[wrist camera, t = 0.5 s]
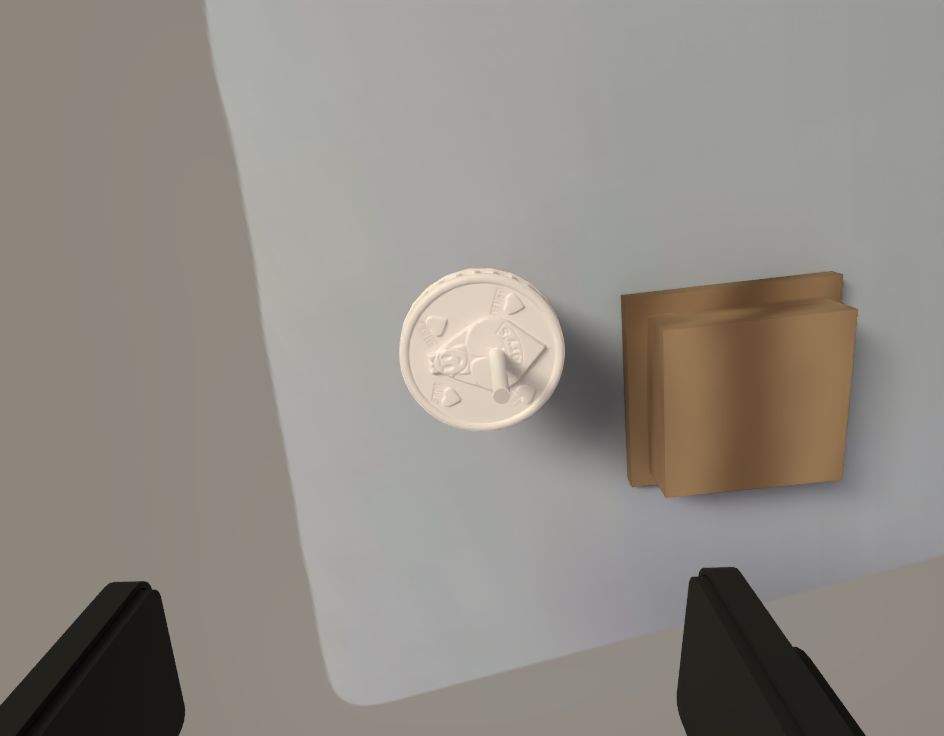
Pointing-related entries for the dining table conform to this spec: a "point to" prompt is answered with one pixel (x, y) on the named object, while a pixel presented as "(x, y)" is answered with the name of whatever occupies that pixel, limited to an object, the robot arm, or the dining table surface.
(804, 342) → the pedestal
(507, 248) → the dining table surface
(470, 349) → the smoothie
